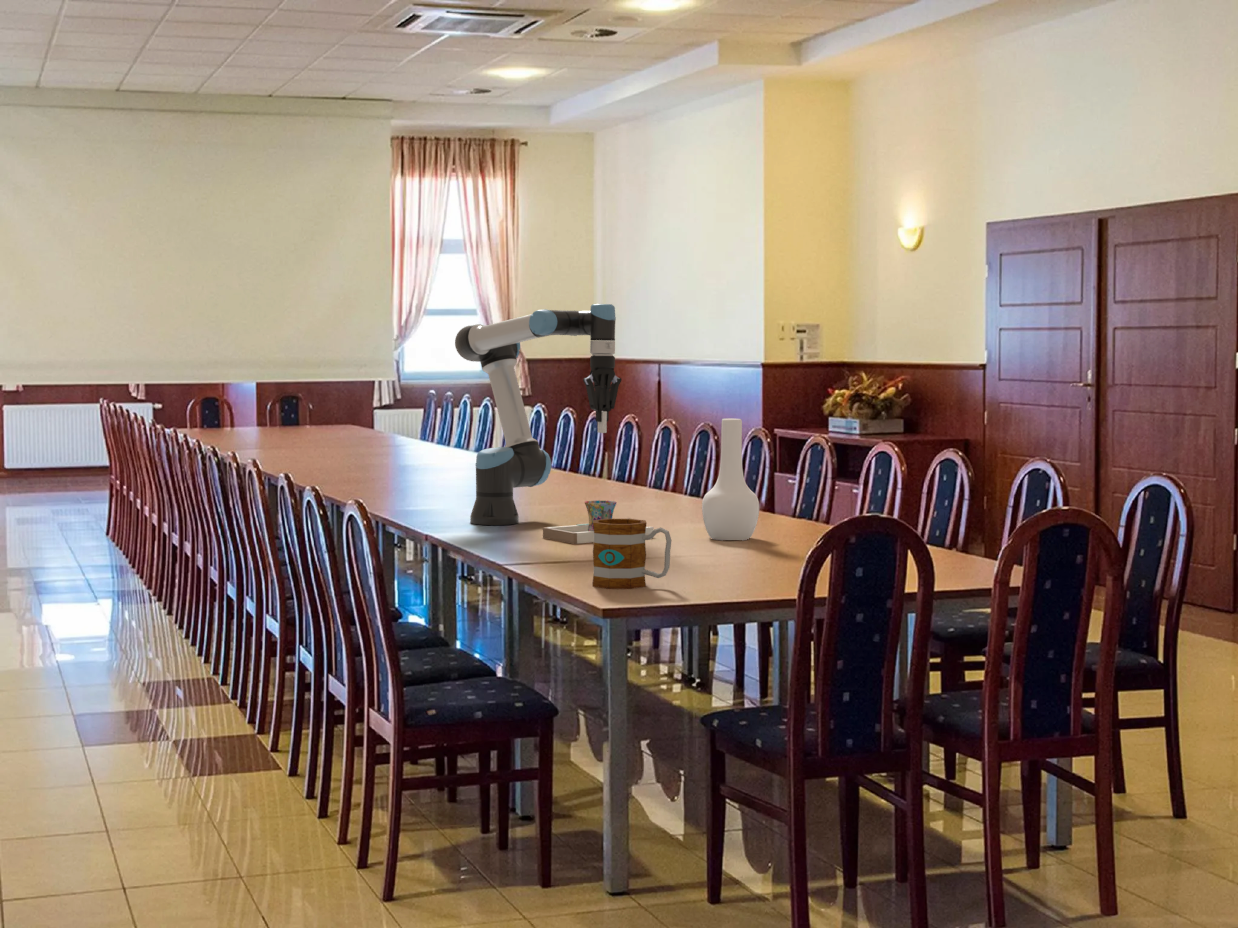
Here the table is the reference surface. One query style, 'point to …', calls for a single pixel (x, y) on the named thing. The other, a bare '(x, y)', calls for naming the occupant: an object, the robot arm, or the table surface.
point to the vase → (730, 491)
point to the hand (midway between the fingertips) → (602, 432)
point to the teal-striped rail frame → (574, 533)
